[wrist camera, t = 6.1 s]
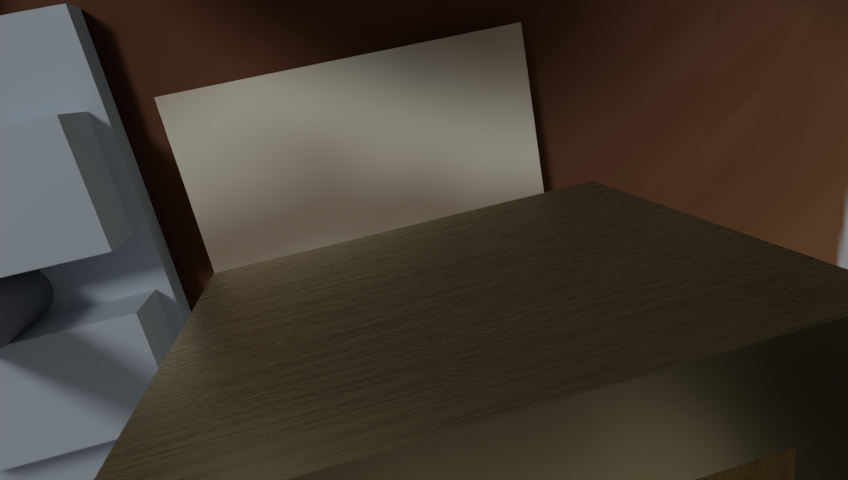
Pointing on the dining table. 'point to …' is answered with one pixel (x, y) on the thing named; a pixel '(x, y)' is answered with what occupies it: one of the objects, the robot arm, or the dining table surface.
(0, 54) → the vise
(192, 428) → the brass sleeve
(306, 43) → the dining table surface
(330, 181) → the birch pad
